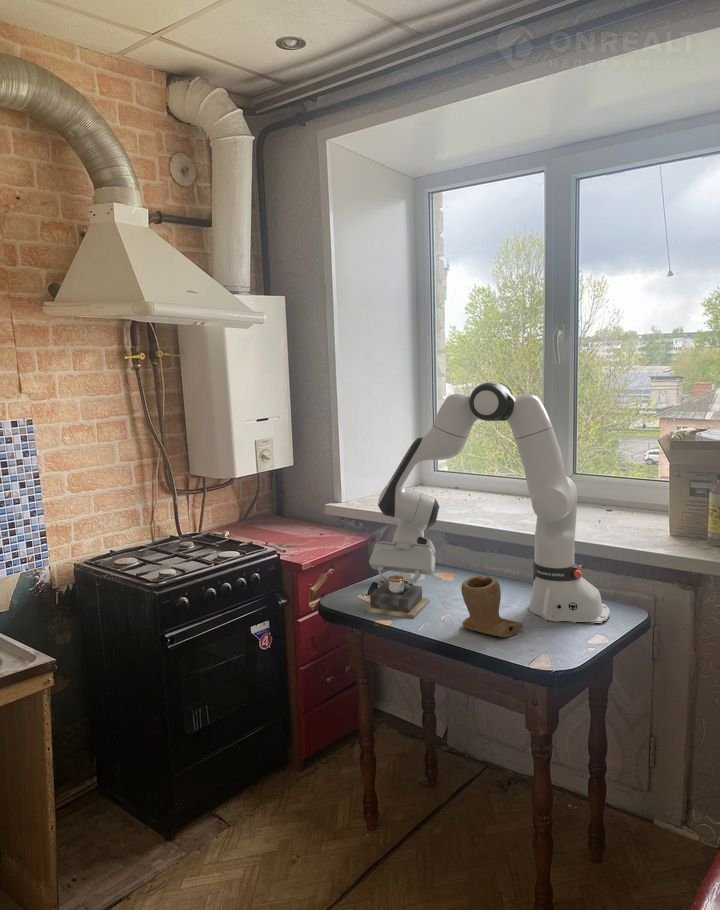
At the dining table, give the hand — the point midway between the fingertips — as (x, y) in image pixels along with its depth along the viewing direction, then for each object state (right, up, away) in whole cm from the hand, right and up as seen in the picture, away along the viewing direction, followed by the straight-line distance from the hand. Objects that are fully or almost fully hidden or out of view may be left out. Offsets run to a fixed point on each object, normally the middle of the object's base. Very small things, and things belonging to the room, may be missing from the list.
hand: (396, 583), depth 203 cm
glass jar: (0, -6, +1) cm, 6 cm away
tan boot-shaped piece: (+24, -10, -19) cm, 32 cm away
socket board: (0, -7, +1) cm, 7 cm away
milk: (+7, -4, +25) cm, 27 cm away
